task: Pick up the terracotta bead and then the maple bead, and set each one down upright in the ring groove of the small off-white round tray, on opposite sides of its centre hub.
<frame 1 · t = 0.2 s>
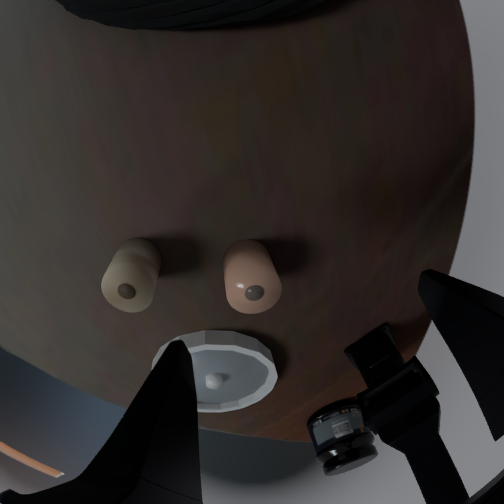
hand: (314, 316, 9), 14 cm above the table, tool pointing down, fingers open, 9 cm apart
terracotta bead: (246, 260, 23), on the table
ring tray: (213, 371, 30), on the table
supplement container: (331, 412, 42), on the table
maple bead: (138, 259, 22), on the table
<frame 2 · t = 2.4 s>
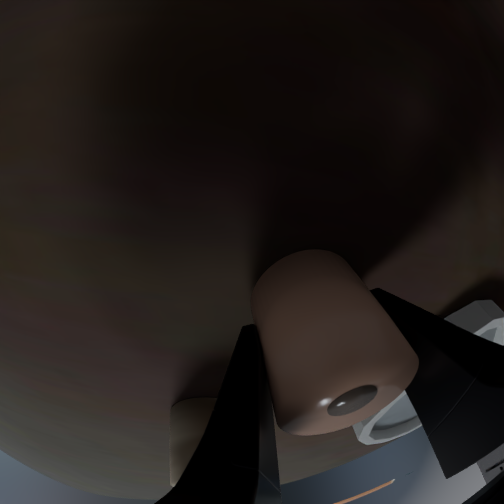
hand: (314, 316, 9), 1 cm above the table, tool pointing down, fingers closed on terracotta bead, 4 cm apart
terracotta bead: (305, 297, 10), on the table, touching gripper
ring tray: (432, 374, 16), on the table
maple bead: (206, 414, 13), on the table
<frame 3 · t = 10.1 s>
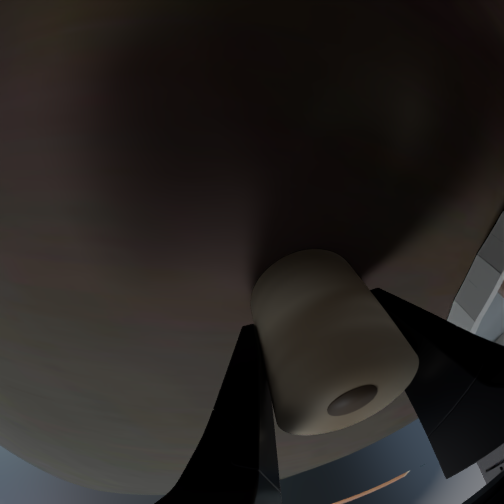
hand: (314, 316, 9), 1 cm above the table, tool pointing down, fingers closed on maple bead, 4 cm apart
maple bead: (305, 297, 10), on the table, touching gripper
when the fingers open (4 cm above the table, at t = 14.5 s): maple bead drops 1 cm, resting on ring tray.
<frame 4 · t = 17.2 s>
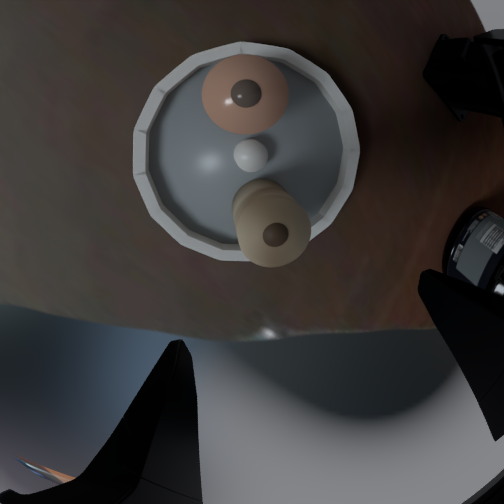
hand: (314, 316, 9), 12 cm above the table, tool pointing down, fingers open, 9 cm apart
terracotta bead: (237, 99, 15), point 1 cm above the table, touching ring tray
ring tray: (247, 151, 17), on the table
supplement container: (465, 243, 25), on the table
maple bead: (261, 207, 18), point 1 cm above the table, touching ring tray
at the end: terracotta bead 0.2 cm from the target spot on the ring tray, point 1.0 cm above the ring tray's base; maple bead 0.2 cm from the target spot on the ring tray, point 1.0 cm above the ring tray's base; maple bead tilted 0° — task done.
